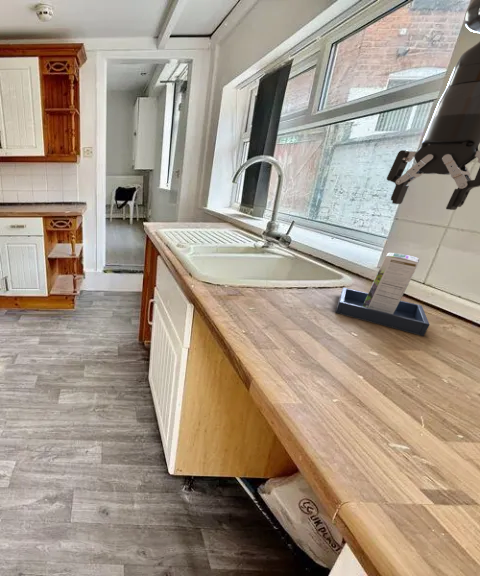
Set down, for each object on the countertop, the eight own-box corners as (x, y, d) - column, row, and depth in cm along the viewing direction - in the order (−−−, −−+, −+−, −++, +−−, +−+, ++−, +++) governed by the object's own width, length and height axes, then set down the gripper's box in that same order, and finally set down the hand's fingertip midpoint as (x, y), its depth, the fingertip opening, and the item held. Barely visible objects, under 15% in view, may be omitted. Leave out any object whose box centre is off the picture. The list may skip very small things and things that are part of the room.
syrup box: (363, 305, 79) (386, 251, 73) (393, 313, 75) (420, 257, 70) (360, 311, 75) (384, 255, 70) (391, 320, 71) (420, 261, 66)
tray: (416, 315, 76) (421, 305, 75) (423, 336, 66) (429, 324, 65) (339, 297, 85) (343, 287, 84) (335, 312, 75) (339, 301, 74)
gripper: (533, 112, 51) (481, 211, 57) (423, 120, 63) (390, 202, 69) (513, 107, 48) (461, 212, 54) (402, 117, 60) (370, 202, 66)
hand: (421, 206), depth 61 cm, fingers open, 8 cm apart
